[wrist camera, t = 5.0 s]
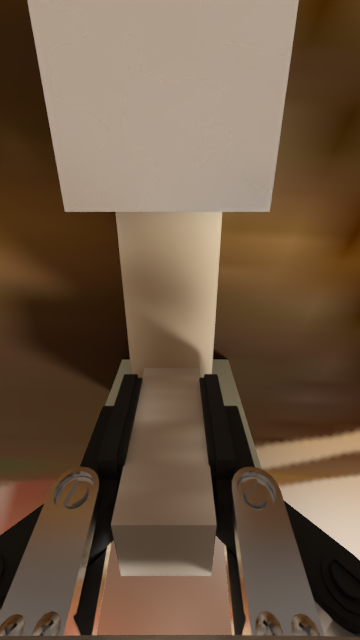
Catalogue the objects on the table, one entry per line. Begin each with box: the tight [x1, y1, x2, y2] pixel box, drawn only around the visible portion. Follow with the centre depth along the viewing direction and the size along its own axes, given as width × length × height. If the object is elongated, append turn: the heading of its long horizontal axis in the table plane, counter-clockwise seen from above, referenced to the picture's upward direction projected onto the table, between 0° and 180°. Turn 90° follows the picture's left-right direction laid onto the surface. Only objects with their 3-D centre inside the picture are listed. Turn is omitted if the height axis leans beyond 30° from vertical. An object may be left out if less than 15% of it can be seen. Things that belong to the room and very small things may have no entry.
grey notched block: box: [27, 0, 299, 212], centre depth 9 cm, size 8×11×8 cm
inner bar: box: [111, 212, 222, 576], centre depth 9 cm, size 4×17×10 cm, turn 0°
